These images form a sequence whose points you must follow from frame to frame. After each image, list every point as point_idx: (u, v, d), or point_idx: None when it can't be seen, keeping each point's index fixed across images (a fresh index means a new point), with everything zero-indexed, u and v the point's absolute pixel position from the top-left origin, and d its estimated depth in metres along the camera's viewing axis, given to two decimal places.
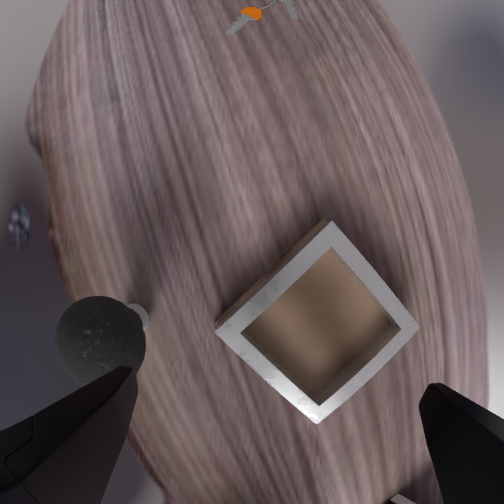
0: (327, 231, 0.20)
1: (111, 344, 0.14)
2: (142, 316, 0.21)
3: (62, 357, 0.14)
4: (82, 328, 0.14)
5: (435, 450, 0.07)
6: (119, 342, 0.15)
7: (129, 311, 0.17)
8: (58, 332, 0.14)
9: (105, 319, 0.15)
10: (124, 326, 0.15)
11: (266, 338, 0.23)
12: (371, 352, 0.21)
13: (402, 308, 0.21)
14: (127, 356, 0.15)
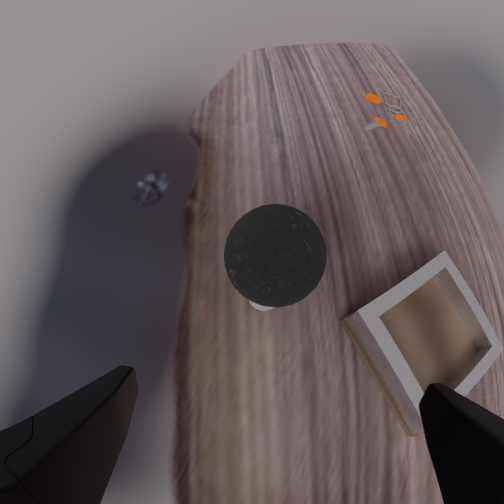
0: (442, 256, 0.23)
1: (317, 234, 0.16)
2: None
3: (256, 227, 0.15)
4: (293, 210, 0.16)
5: (435, 450, 0.07)
6: (322, 239, 0.16)
7: None
8: (254, 211, 0.16)
9: (311, 219, 0.17)
10: None
11: None
12: (470, 367, 0.19)
13: (491, 328, 0.20)
14: (323, 256, 0.16)
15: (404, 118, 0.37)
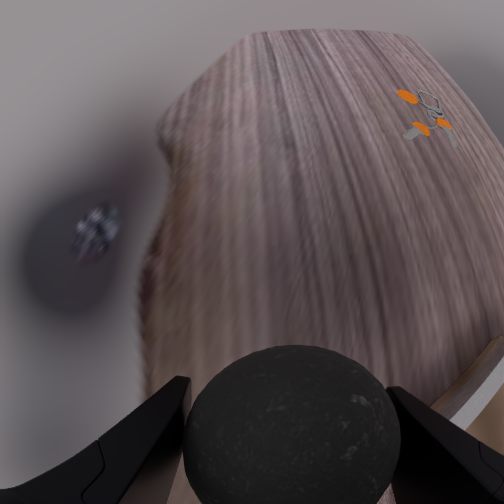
0: None
1: (395, 435, 0.05)
2: None
3: (249, 459, 0.05)
4: (347, 390, 0.06)
5: None
6: (399, 434, 0.06)
7: None
8: (246, 393, 0.06)
9: (378, 384, 0.06)
10: None
11: None
12: None
13: None
14: None
15: (447, 124, 0.26)
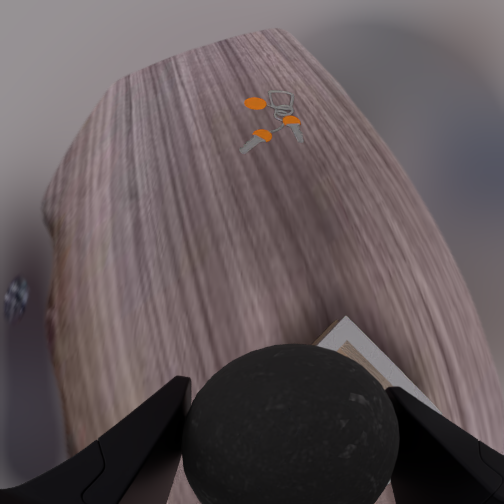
0: (342, 325, 0.20)
1: (393, 434, 0.05)
2: None
3: (247, 458, 0.05)
4: (345, 388, 0.06)
5: None
6: (397, 433, 0.06)
7: None
8: (245, 391, 0.06)
9: (377, 383, 0.06)
10: None
11: None
12: None
13: (422, 396, 0.17)
14: None
15: (296, 120, 0.33)
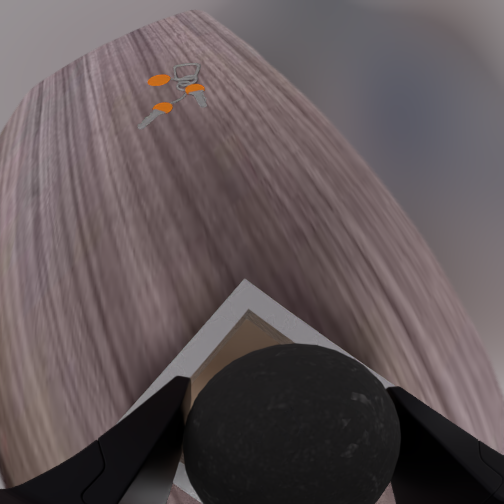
0: (241, 291, 0.16)
1: (395, 433, 0.05)
2: None
3: (249, 457, 0.05)
4: (347, 387, 0.06)
5: None
6: (399, 432, 0.06)
7: None
8: (247, 391, 0.06)
9: (378, 382, 0.06)
10: None
11: None
12: None
13: None
14: (395, 465, 0.05)
15: (199, 87, 0.29)
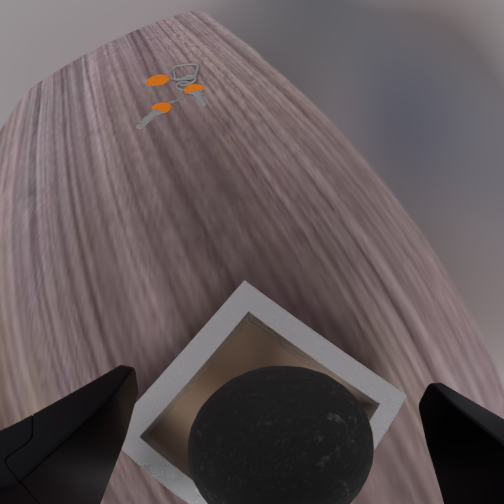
0: (240, 293, 0.16)
1: (366, 447, 0.06)
2: None
3: (242, 463, 0.06)
4: (324, 409, 0.07)
5: (435, 451, 0.07)
6: (371, 446, 0.07)
7: None
8: (241, 409, 0.07)
9: (355, 403, 0.07)
10: (369, 422, 0.08)
11: (187, 450, 0.13)
12: None
13: (372, 375, 0.14)
14: (368, 473, 0.06)
15: (198, 86, 0.29)
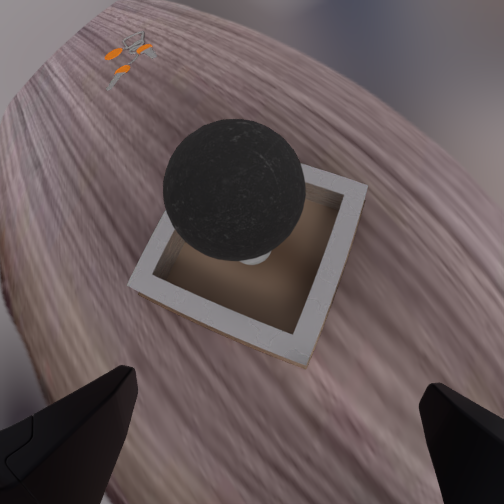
0: None
1: (277, 141, 0.10)
2: None
3: (184, 158, 0.10)
4: (234, 120, 0.10)
5: (435, 451, 0.07)
6: (286, 146, 0.11)
7: None
8: (184, 140, 0.11)
9: None
10: None
11: (197, 286, 0.19)
12: None
13: (329, 174, 0.18)
14: (295, 169, 0.11)
15: (147, 45, 0.31)
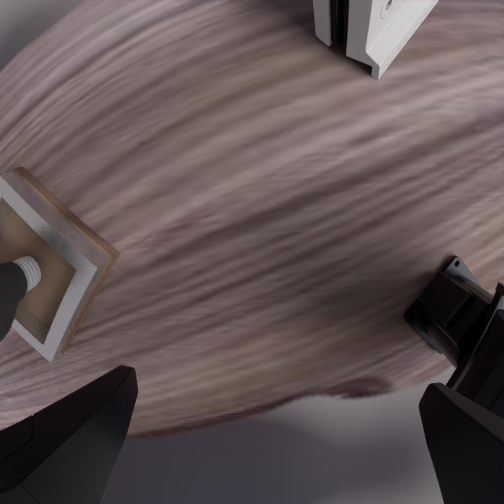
0: None
1: None
2: (15, 260, 0.18)
3: None
4: None
5: (435, 450, 0.07)
6: None
7: None
8: None
9: None
10: None
11: (56, 312, 0.21)
12: None
13: None
14: None
15: None
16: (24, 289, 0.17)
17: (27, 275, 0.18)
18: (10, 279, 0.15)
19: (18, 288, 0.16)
